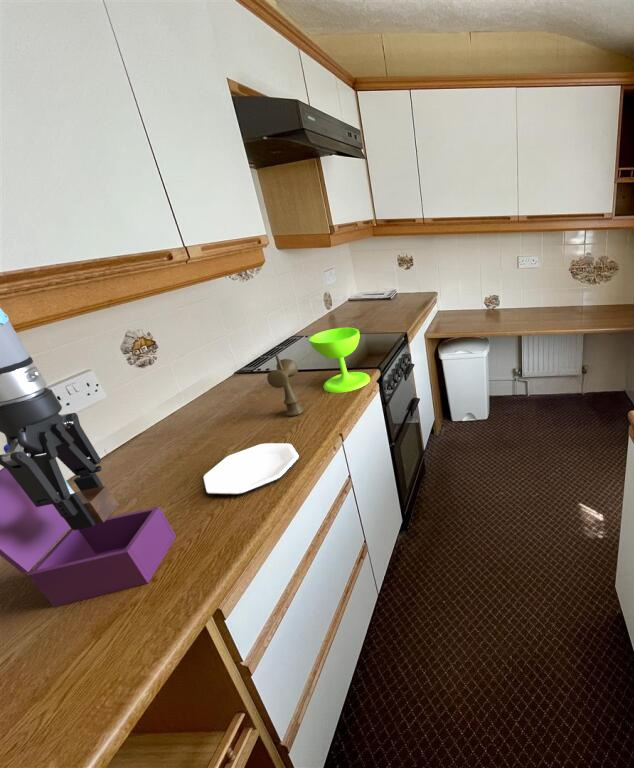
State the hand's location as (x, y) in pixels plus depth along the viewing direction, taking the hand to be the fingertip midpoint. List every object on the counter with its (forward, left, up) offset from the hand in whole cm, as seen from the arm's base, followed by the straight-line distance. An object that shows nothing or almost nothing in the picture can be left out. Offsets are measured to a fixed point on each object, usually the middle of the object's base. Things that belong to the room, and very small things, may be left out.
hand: (94, 516), depth 70 cm
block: (0, 0, 0) cm, 0 cm away
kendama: (+6, +57, -13) cm, 58 cm away
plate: (+9, +28, -13) cm, 32 cm away
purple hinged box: (-1, 0, -12) cm, 12 cm away
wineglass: (+15, +77, -13) cm, 80 cm away
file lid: (-9, -2, +3) cm, 9 cm away
